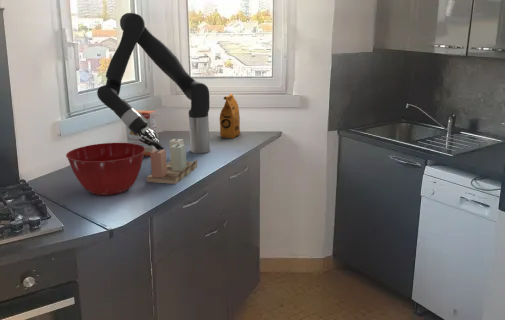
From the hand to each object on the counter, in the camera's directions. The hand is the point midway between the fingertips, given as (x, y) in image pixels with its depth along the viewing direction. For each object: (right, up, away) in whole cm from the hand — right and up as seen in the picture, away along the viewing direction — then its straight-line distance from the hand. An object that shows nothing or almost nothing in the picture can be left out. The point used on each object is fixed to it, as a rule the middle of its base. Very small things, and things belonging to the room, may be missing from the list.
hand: (162, 150), depth 221 cm
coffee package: (+27, +9, +55) cm, 62 cm away
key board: (+6, -10, -8) cm, 15 cm away
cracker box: (-13, -2, +23) cm, 27 cm away
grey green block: (+9, -8, -10) cm, 15 cm away
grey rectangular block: (+7, -5, 0) cm, 9 cm away
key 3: (+2, -10, -17) cm, 20 cm away
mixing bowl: (-15, -16, -25) cm, 33 cm away
